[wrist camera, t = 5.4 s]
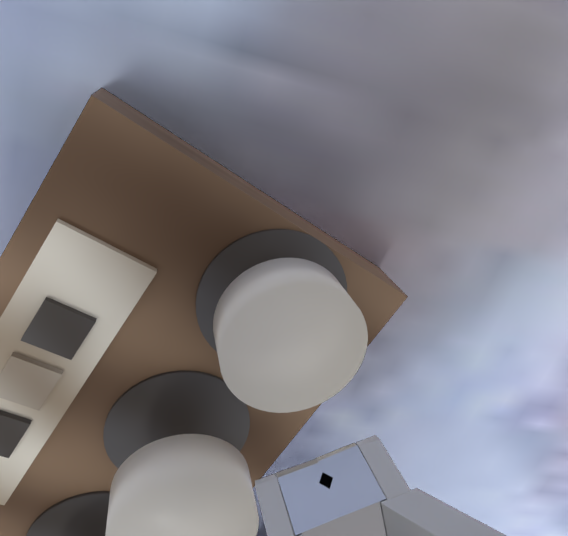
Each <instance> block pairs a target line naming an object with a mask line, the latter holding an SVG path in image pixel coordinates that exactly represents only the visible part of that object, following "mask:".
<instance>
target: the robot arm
mask: <svg viewBox="0 0 568 536" xmlns="http://www.w3.org/2000/svg"><path fill="white" fill-rule="evenodd" d="M276 475H277V476H276ZM277 478H278V479H277ZM278 481H279V482H278ZM255 489H256V493H257V497H258V501H259V505H260V509H261V513H262V517H263V521H264V525H265V529H266V533H267V536H506V535H504V534H503V533H501V532H499V531H497V530H495V529H493V528H491V527H489V526H487V525H486V524H484V523H482V522H480V521H478V520H476V519H474V518H472V517H470V516H469V515H467V514H465V513H463V512H461V511H459V510H457V509H455V508H453V507H452V506H450V505H448V504H446V503H444V502H442V501H440V500H438V499H437V498H435V497H433V496H431V495H429V494H427V493H425V492H423V491H421V490H420V489H418V488H415V489H412V490H410V488H409V487H408V485H407V484H406V482H405V480H404V479H403V477H402V475H401V474H400V472H399V470H398V469H397V467H396V465H395V464H394V462H393V461H392V459H391V457H390V456H389V454H388V452H387V451H386V449H385V447H384V446H383V444H382V442H381V441H380V439H379V438H378V437H377V436H376V435H374V436H371V437H369V438H366V439H364V440H361V441H358V442H356V443H352V444H350V445H347V446H345V447H342V448H340V449H337V450H335V451H332V452H330V453H327V454H325V455H322V456H320V457H317V458H316V459H314V460H311V461H308V462H305V463H302V464H300V465H297V466H294V467H291V468H288V469H285V470H282V471H280V472H277V473H275V474H272V475H269V476H266V477H264V478H261V479H258V480H255Z"/></svg>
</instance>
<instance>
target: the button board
mask: <svg viewBox="0 0 568 536" xmlns="http://www.w3.org/2000/svg"><path fill="white" fill-rule="evenodd" d="M278 258H300V259H305V260H309V261H312V262H315V263H317V264H319V265H321V266H323V267H324V268H326V269H327V270H328V271H330V272H331V273H332V274H333V275H334V276H335V277H336V279H337V280H338V281H339V283H340V284H341V285H342V287H343V288H344V289H345V290H346V292H347V293H348V294H349V296H350V297H351V298H352V300H353V301H354V302H355V304H356V305H357V306H358V308H359V309H360V310H361V312H362V314H363V316H364V319H365V322H366V325H367V331H368V343H367V347H368V345H369V344H370V343H371V342H372V340H373V339H374V338H375V337H376V335H377V334H378V333H379V332H380V330H381V329H382V328H383V327H384V326H385V324H386V323H387V322H388V321H389V319H390V318H391V317H392V316H393V314H394V313H395V312H396V311H397V309H398V308H399V307H400V306H401V305H402V303H403V302H404V301H405V300H406V298H407V297H408V296H407V295H406V294H405V293H404V292H403V291H402V290H401V289H400V288H399V287H398V286H397V285H396V284H395V283H394V282H393V281H392V280H391V279H390V278H389V277H388V276H387V275H386V274H385V273H384V272H383V271H382V270H381V269H380V268H379V267H377V266H376V265H374V264H373V263H371V262H369V261H368V260H366V259H365V258H363V257H362V256H360V255H359V254H357V253H356V252H354V251H353V250H351V249H349V248H348V247H346V246H345V245H343V244H342V243H340V242H339V241H337V240H336V239H334V238H333V237H331V236H329V235H328V234H326V233H325V232H323V231H322V230H320V229H319V228H317V227H316V226H314V225H313V224H311V223H309V222H308V221H306V220H305V219H303V218H302V217H300V216H299V215H297V214H296V213H294V212H293V211H291V210H289V209H288V208H286V207H285V206H283V205H282V204H280V203H279V202H277V201H276V200H274V199H273V198H271V197H270V196H268V195H266V194H265V193H263V192H262V191H260V190H259V189H257V188H256V187H254V186H253V185H251V184H250V183H248V182H246V181H245V180H243V179H242V178H240V177H239V176H237V175H236V174H234V173H233V172H231V171H230V170H228V169H226V168H225V167H223V166H222V165H220V164H219V163H217V162H216V161H214V160H213V159H211V158H210V157H208V156H206V155H205V154H203V153H202V152H200V151H199V150H197V149H196V148H194V147H193V146H191V145H190V144H188V143H186V142H185V141H183V140H182V139H180V138H179V137H177V136H176V135H174V134H173V133H171V132H170V131H168V130H166V129H165V128H163V127H162V126H160V125H159V124H157V123H156V122H154V121H153V120H151V119H150V118H148V117H146V116H145V115H143V114H142V113H140V112H139V111H137V110H136V109H134V108H133V107H131V106H130V105H128V104H127V103H125V102H123V101H122V100H120V99H119V98H117V97H116V96H114V95H113V94H111V93H110V92H108V91H107V90H105V89H103V88H101V89H99V90H98V91H97V92H95V93H94V94H92V95H91V97H90V99H89V100H88V102H87V104H86V106H85V108H84V109H83V111H82V113H81V115H80V116H79V118H78V120H77V122H76V124H75V125H74V127H73V129H72V131H71V133H70V134H69V136H68V138H67V140H66V141H65V143H64V145H63V147H62V149H61V150H60V152H59V154H58V156H57V157H56V159H55V161H54V163H53V165H52V166H51V168H50V170H49V172H48V174H47V175H46V177H45V179H44V181H43V182H42V184H41V186H40V188H39V190H38V191H37V193H36V195H35V197H34V198H33V200H32V202H31V204H30V206H29V207H28V209H27V211H26V213H25V215H24V216H23V218H22V220H21V222H20V223H19V225H18V227H17V229H16V231H15V232H14V234H13V236H12V238H11V239H10V241H9V243H8V245H7V247H6V248H5V250H4V252H3V254H2V255H1V257H0V536H105V533H106V524H107V515H108V506H109V497H110V488H111V484H112V480H113V478H114V475H115V473H116V472H117V470H118V468H119V467H120V466H121V464H122V463H123V462H124V461H125V460H126V459H127V458H128V457H129V456H130V455H131V454H133V453H134V452H135V451H137V450H138V449H140V448H142V447H143V446H145V445H147V444H149V443H151V442H153V441H156V440H159V439H162V438H165V437H169V436H173V435H180V434H203V435H209V436H213V437H217V438H220V439H222V440H224V441H226V442H228V443H230V444H231V445H233V446H234V447H235V448H236V449H238V450H239V451H240V453H241V454H242V455H243V457H244V458H245V460H246V462H247V465H248V468H249V473H250V478H251V482H252V487H254V486H255V480H258V479H261V477H262V476H263V475H264V474H265V473H266V471H267V470H268V469H269V468H270V466H271V465H272V464H273V463H274V461H275V460H276V459H277V458H278V456H279V455H280V454H281V453H282V452H283V450H284V449H285V448H286V447H287V445H288V444H289V443H290V442H291V440H292V439H293V438H294V437H295V435H296V434H297V433H298V432H299V431H300V429H301V428H302V427H303V426H304V424H305V423H306V422H307V421H308V419H309V418H310V417H311V416H312V414H313V413H314V412H315V411H316V410H317V408H318V407H319V406H320V405H321V404H319V405H316V406H314V407H311V408H308V409H305V410H301V411H296V412H289V413H275V412H267V411H262V410H259V409H256V408H253V407H251V406H249V405H247V404H245V403H244V402H242V401H241V400H239V399H238V398H237V397H236V396H235V395H234V394H233V393H232V392H231V391H230V389H229V388H228V387H227V385H226V383H225V381H224V379H223V377H222V374H221V370H220V365H219V359H218V354H217V349H216V344H215V338H214V333H213V319H214V313H215V309H216V306H217V304H218V301H219V299H220V297H221V296H222V294H223V292H224V291H225V290H226V288H227V287H228V286H229V285H230V283H231V282H232V281H233V280H234V279H236V278H237V277H238V276H239V275H240V274H242V273H243V272H244V271H246V270H248V269H249V268H251V267H253V266H255V265H257V264H260V263H262V262H265V261H268V260H272V259H278Z"/></svg>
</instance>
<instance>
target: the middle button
mask: <svg viewBox="0 0 568 536" xmlns="http://www.w3.org/2000/svg"><path fill="white" fill-rule="evenodd" d="M258 527H259V516H258V511H257V506H256V501H255V496H254V492H253V487H252V482H251V478H250V473H249V468H248V465H247V462H246V460H245V458H244V457H243V455H242V454H241V453H240V451H239V450H238V449H236V448H235V447H234V446H233V445H231V444H230V443H228V442H226V441H224V440H222V439H220V438H217V437H213V436H209V435H203V434H180V435H173V436H169V437H165V438H162V439H159V440H156V441H153V442H151V443H149V444H147V445H145V446H143V447H142V448H140V449H138V450H137V451H135V452H134V453H133V454H131V455H130V456H129V457H128V458H127V459H126V460H125V461H124V462H123V463H122V464H121V466H120V467H119V468H118V470H117V472H116V473H115V475H114V478H113V480H112V484H111V488H110V497H109V506H108V515H107V524H106V533H105V536H256V535H257V532H258Z"/></svg>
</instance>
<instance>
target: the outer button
mask: <svg viewBox="0 0 568 536" xmlns="http://www.w3.org/2000/svg"><path fill="white" fill-rule="evenodd" d="M213 333H214V338H215V344H216V349H217V354H218V359H219V365H220V370H221V374H222V377H223V379H224V381H225V383H226V385H227V387H228V388H229V389H230V391H231V392H232V393H233V394H234V395H235V396H236V397H237V398H238V399H239V400H241V401H242V402H244V403H245V404H247V405H249V406H251V407H253V408H256V409H259V410H262V411H267V412H275V413H289V412H296V411H301V410H305V409H308V408H311V407H314V406H316V405H319V404H321V403H323V402H325V401H326V400H328V399H330V398H331V397H333V396H334V395H336V394H337V393H338V392H340V391H341V390H342V389H343V388H344V387H345V386H346V385H347V384H348V383H349V382H350V381H351V380H352V378H353V377H354V376H355V374H356V373H357V371H358V369H359V368H360V366H361V364H362V362H363V359H364V357H365V353H366V349H367V343H368V331H367V325H366V322H365V319H364V316H363V314H362V312H361V310H360V309H359V308H358V306H357V305H356V304H355V302H354V301H353V300H352V298H351V297H350V296H349V294H348V293H347V292H346V290H345V289H344V288H343V287H342V285H341V284H340V283H339V281H338V280H337V279H336V277H335V276H334V275H333V274H332V273H331V272H330V271H328V270H327V269H326V268H324V267H323V266H321V265H319V264H317V263H315V262H312V261H309V260H305V259H300V258H278V259H272V260H268V261H265V262H262V263H260V264H257V265H255V266H253V267H251V268H249V269H248V270H246V271H244V272H243V273H242V274H240V275H239V276H238V277H237V278H236V279H234V280H233V281H232V282H231V283H230V285H229V286H228V287H227V288H226V290H225V291H224V292H223V294H222V296H221V297H220V299H219V301H218V304H217V306H216V309H215V313H214V319H213Z"/></svg>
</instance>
